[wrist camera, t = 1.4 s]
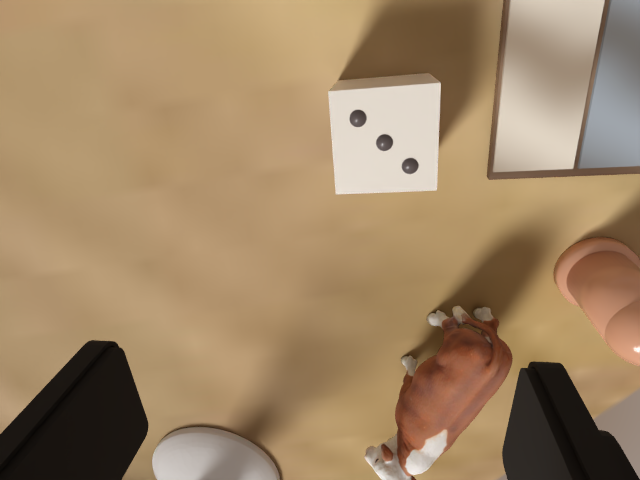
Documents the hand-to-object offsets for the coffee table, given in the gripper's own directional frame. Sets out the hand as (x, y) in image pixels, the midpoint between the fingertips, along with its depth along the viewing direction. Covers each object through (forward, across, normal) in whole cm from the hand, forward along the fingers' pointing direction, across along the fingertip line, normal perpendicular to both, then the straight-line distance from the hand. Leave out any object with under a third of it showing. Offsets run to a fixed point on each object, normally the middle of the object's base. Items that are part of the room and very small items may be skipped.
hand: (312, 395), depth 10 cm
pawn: (+18, -15, +7) cm, 24 cm away
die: (+18, -2, -3) cm, 18 cm away
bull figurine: (+18, -5, +14) cm, 23 cm away
